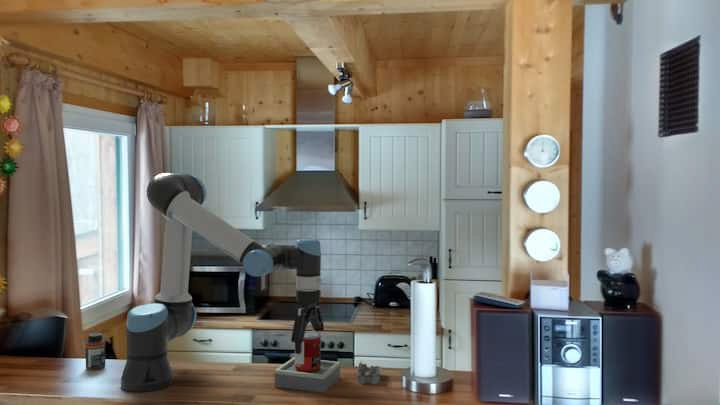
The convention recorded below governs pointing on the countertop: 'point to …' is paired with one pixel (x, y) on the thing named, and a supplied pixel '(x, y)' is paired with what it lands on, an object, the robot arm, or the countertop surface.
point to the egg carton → (368, 374)
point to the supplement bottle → (95, 352)
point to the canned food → (311, 353)
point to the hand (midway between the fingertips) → (308, 357)
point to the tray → (307, 376)
